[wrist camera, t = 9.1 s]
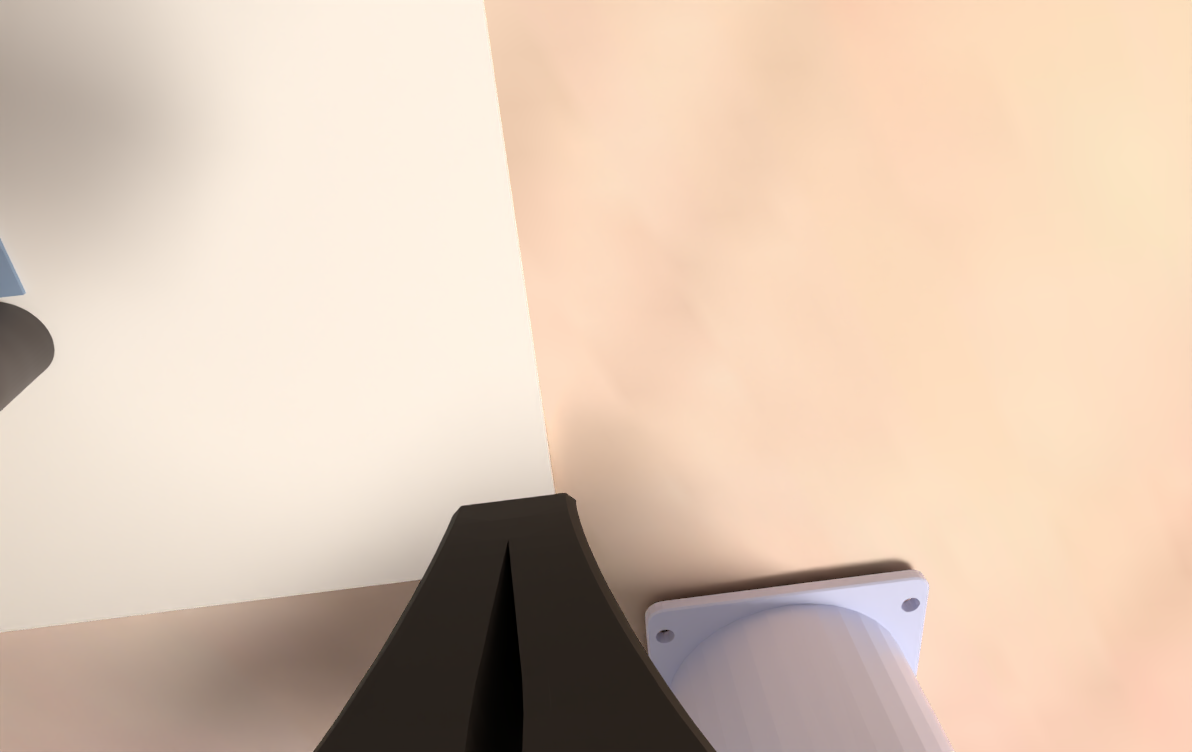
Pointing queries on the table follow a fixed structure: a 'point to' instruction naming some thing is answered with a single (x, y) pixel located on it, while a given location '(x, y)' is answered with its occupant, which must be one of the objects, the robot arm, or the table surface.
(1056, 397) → the table surface
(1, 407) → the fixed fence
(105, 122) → the card
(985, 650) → the table surface
